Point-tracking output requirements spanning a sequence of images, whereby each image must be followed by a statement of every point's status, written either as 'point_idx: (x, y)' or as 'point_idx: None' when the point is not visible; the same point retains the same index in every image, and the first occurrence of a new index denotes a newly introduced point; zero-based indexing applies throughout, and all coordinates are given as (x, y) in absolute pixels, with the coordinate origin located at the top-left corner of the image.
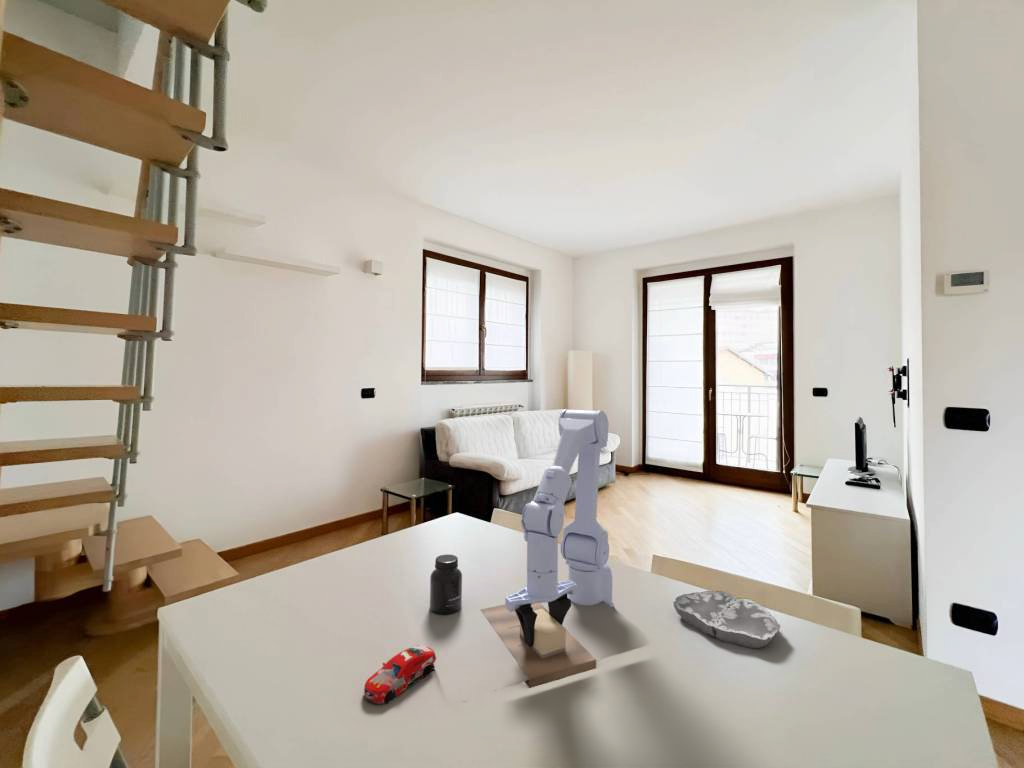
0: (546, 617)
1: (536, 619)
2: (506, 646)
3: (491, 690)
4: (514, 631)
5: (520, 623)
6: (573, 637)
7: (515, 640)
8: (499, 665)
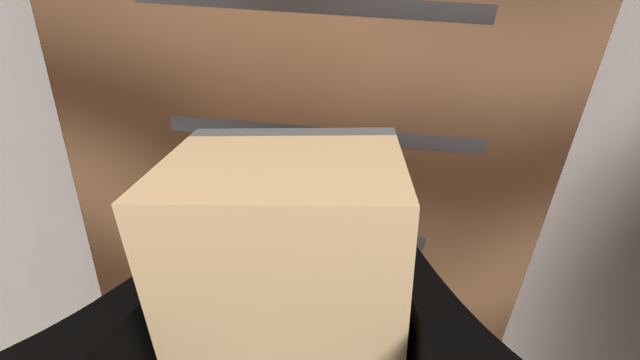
0: (351, 354)
1: (245, 338)
2: (77, 191)
3: (3, 329)
4: (177, 58)
5: (87, 308)
6: (511, 299)
7: (150, 163)
8: (55, 226)
